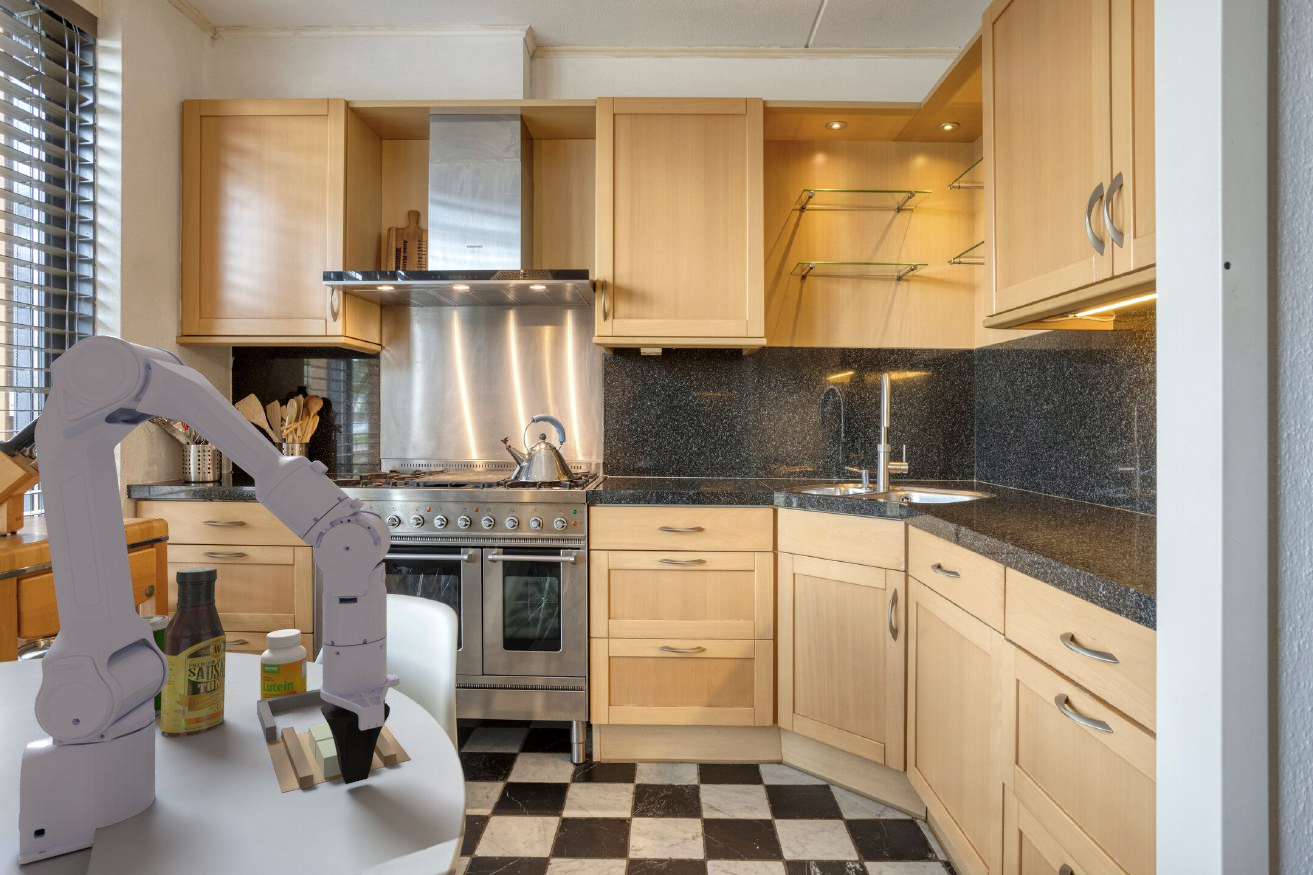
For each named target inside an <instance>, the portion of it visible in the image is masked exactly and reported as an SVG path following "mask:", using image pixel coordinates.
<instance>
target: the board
mask: <svg viewBox="0 0 1313 875" xmlns="http://www.w3.org/2000/svg"><path fill="white" fill-rule="evenodd" d="M280 733H281V736H280V737H279V738H276V739H274V740H269V741H266V740H265V743H266V747H267V750H268V753H269V755H270V759H271V762H272V765H273V769H274V771H275V774H276V777H277V781H278V784H279V787H280V791H281V793H282V794H284V793H288V792H292V791H296V790H299V789H300V790H301V789H304V788H307V787H311V786H315V785H319V784H323V783H327V782H331V781H335V780H338V779H343V778H342V775H341V774H339V775H335V776H332V777H328V778H323V775H322V773H321V771H320V769H319V767H318V764H317V762H316V760H315V758H314V755H313V753H312V751H311V749H310V747H309V731H307V732H302V733H297V732H296V730H295V728H294V726H288V727H285V728H281V729H280ZM408 761H412V758H411V757H410V756H409V754H408V753H407V752H406V751H405V749H404V748H403V747H402V745H401V744H400V742H399V741H398V740H397V739H396V737H395V736H394V735H393V733H392V732H391V731H390V730H389V728H388V726H386V724H385V723H384V726H383V727H382V729H381V731H380V734H379V737H378V740H377V743H376V747H375V751H374V755H373V760H372V766H371V769H370V771H373V770H378V769H381V768H384V767H389V766H392V765H396V764H401V763H404V762H408Z"/></svg>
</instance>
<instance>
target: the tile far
mask: <svg viewBox="0 0 1313 875" xmlns="http://www.w3.org/2000/svg"><path fill="white" fill-rule="evenodd" d="M308 732H309V747H310V749H311V751H312V753H313V755H314V758H315V760H316V742H320V741H324V740H328V739H333V736H332V732H331V730H330V727H329V725H328V723H327V722H322V723H319V724H314V725H310V726H309V725H308Z"/></svg>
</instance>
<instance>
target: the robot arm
mask: <svg viewBox="0 0 1313 875" xmlns="http://www.w3.org/2000/svg"><path fill="white" fill-rule="evenodd" d="M49 366H50V367H49V368H50V373H51V382H52V386H51V388H50V391H49V393H48V395H47V398H46V401H45V403H44V405H43V407H42V410H41V413H40V415H39V417H38V420H37V422H36V425H35V428H34V436H33V437H34V439H33V440H34V444H35V453H36V458H37V459H36V460H37V466H38V475H39V482H40V489H41V490H40V491H41V497H42V504H43V505H42V506H43V511H44V518H45V525H46V532H47V539H48V547H49V555H50V562H51V570H52V577H53V584H54V591H55V599H56V605H57V612H58V621H59V622H58V623H59V627H60V629H59V631H58V633H57V635H56V636H55V639H54V640H53V641H52V643H51V645H50V646H49V648H48V650H47V651H46V652H45V654H44V655H43V658H42V660H41V663H40V664H41V671H42V677H41V678H42V680H41V681H42V682H41V685H40V687H39V690H38V692H37V695H36V697H35V700H34V707H33V708H34V716H35V719H36V722H37V724H38V725H39V726H40V728H41V729H42V731H44V732H45V733H46V734H47V735H48V736H46V737H43V738H39V739H33V740H30V741H28V742H26V743H25V746H24V749H23V753H22V757H21V764H20V765H21V766H20V777H19V813H18V831H19V857H18V859H17V860H18V861H17V862H18V864H19V865H25V864H29V863H32V862H36V861H40V860H44V859H48V858H52V857H55V856H60V855H63V854H67V853H71V852H75V851H79V850H83V849H86V848H90V847H93V844H94V840H95V834H96V832H97V831H96V830H97V829H100V828H104V827H109V826H112V825H116V824H117V823H121V822H123V821H127V820H128V819H131V818H133V817H135V816H137V815H139V814H141V813H142V812H144V811H145V810H147V809H148V808H149V807H150V806H151V805H152V804H154V802H155V800H156V716H155V709H154V697H155V696H156V695H157V694H158V693H159V692H160V691H161V690H162V689H163V687H164V685H165V684H166V681H167V678H168V674H169V667H168V662H167V659H166V657H165V655H164V654H163V652H162V651H161V650H160V649H159V648H158V646H157V645H156V643H155V640H154V637H153V630H152V626H151V625H150V624H149V623H148V622H147V621H145V620H144V619H143V618H142V617H143V616H142V615H141V616H140V614H138V613H137V611H136V605H135V597H134V589H133V582H132V575H131V574H132V573H131V567H130V560H129V553H128V545H127V538H126V530H125V524H124V523H125V522H124V517H123V516H124V514H123V509H122V508H123V507H122V501H121V494H120V485H119V477H118V471H117V464H116V456H115V448H116V446H118V445H119V444H120V443H121V442H122V441H123V440H124V439H125V438H126V437H127V436H129V435H130V434H131V433H132V432H133V431H134V430H135V429H136V428H138V427H139V426H140V425H141V424H143V423H145V422H148V421H149V420H151V419H154V418H156V417H160V418H166V419H170V420H173V421H178V422H182V423H184V424H186V425H187V426H188V427H190V428H191V429H192V430H193V431H195V432H196V433H197V434H198V435H200V437H202V438H203V439H205V441H207V442H208V443H209V444H211V445H212V446H213V447H214V448H215V449H217V450H219V451H220V452H221V454H223V455H224V456H225V457H227V458H228V459H229V460H230V461H232V463H234V464H235V465H237V466H238V467H239V468H240V469H242V470H243V471H244V472H246V473H247V475H249V476H250V477H252V478H253V480H254V489H255V490H254V491H255V492H254V494H255V500H256V501H257V502H259V503H260V504H261V505H262V506H263V507H264V508H265V509H266V510H268V511H269V513H271V514H272V515H273V516H274V517H275V518H277V519H278V520H279V521H280V522H281V523H282V524H283V525H284V526H286V527H287V528H288V529H289V530H290V531H291V532H292V533H293V534H294V535H295V536H297V537H298V538H299V539H300V540H302V541H303V543H305V544H306V545H309V546H313V547H314V548H313V549H312V553H313V554H312V555H313V559H314V561H315V563H316V565H317V567H318V568H319V569H320V570H321V572H322V573H323V592H322V684H321V686H320V688H319V689H320V697H321V698H322V699H323V700H324V701H327V702H326V704H324V705H322V706H321V707H320V712H321V714H322V715H323V717H324V719H325V721H326V723H328V725H329V727H330V730H331V732H332V736H333V739H334V743H335V748H336V753H337V758H338V763H339V768H340V772H341V775H342V778H341V779H343V782H344V784H345V785H350V784H353V783H354V784H355V783H358V782H361V781H364V780H368V779H369V776H370V773H371V770H370V769H371V765H372V760H373V755H374V751H375V747H376V743H377V740H378V737H379V734H380V731H381V729H382V727H383V726H384V724H385V723H386V721H387V720H388V718H389V716H390V713H391V712H390V711H391V707H390V705H389V704H388V703H387V702H386V696H387V694H388V692H389V689H390V688H391V687H392V688H393V687H396V686H399V685H400V676H398V675H397V674H396V673H388V670H387V669H388V668H387V667H388V662H387V661H388V655H387V654H388V651H387V650H388V644H387V641H388V640H387V639H388V636H387V635H388V629H387V628H388V627H387V626H388V625H387V622H388V621H387V620H388V618H387V617H388V616H387V612H388V610H387V608H388V607H387V606H388V605H387V602H388V601H387V600H388V599H387V596H388V595H387V593H388V592H387V586H386V577H387V574H386V562H383V560H384V559H385V557H386V555H387V554H388V552H389V551H390V548H391V543H392V536H391V531H390V528H389V526H388V525H387V523H386V522H385V521H384V519H383V518H382V515H381V514H380V513H378V512H376V511H373V510H369V509H362V508H363V507H364V505H365V503H364V502H363V501H362V500H361V499H360V498H359V497H355V498H351V497H350V496H349V495H348V494H347V493H346V492H345V491H344V490H343V489H342V488H340V487H339V486H338V485H337V484H336V483H335V482H334V481H333V480H331V479H330V477H328V476H327V475H326V472H327V471H328V470H329V468H328V466H326V465H325V463H323V462H322V461H320V460H314V461H313V462H311V461H310V460H309V458H307V457H306V456H304V455H292V456H291V455H290V456H289V455H287V456H285V455H284V454H282V452H281V451H280V450H279V449H277V447H276V446H274V444H273V443H272V442H271V441H270V440H268V438H267V437H265V435H263V433H261V432H260V430H259V429H258V428H257V427H255V425H254V424H252V422H250V421H249V420H248V419H247V417H245V416H244V414H242V412H240V411H239V410H238V409H237V408H236V407H235V405H233V403H231V402H230V401H229V400H228V399H227V398H226V397H225V396H224V395H223V394H222V393H221V392H220V391H219V390H218V389H217V388H216V387H215V386H214V385H213V384H212V383H211V382H210V381H209V380H208V378H206V377H205V376H204V375H203V374H202V373H201V372H199V371H197V369H195V368H193V367H190V366H188V365H187V364H186V362H184V360H183V359H182V358H181V357H180V356H179V355H177V354H176V353H174V352H172V351H170V350H167V349H163V348H158V347H150V346H145V345H141V344H138V343H134V342H130V341H127V340H125V339H124V338H123V339H122V338H120V337H117V336H112V335H107V334H98V335H97V334H96V335H92V336H88V337H85V338H83V339H81V340H79V341H78V342H76V343H74V344H73V345H72V346H71V347H70V348H68V349H67V350H66V351H65V352H63V353H62V354H61V355H60V356H59V357H57V358H56V359H55V360H54V361H52V362H51V363H50V365H49ZM327 703H328V704H327Z"/></svg>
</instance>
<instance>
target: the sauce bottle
mask: <svg viewBox="0 0 1313 875" xmlns="http://www.w3.org/2000/svg"><path fill="white" fill-rule="evenodd" d="M175 576H176V577H175V581H176V584H177V598H176V599H177V600H176V601H177V602H176V612H175V613H174V615H172V617H171V619H170V620H168V621H169V624H168V625H167V627H166V630H165V634H164V651H163V654H164V655H165V657H166V659H167V662H168V667H169V674H168V678H167V681H166V684H165V685H164V687H163V689H162V696H161V714H160V726H159V728H160V729H161V732H162V733H161V735H163V736H166V737H170V738H178V737H179V738H180V737H191V736H195V735H196V736H197V735H199V734H201V733H206V732H208V731H212V730H213V729H216V728H217V727H218V726H220V725H221V724H222V723H223V722H224V719H225V693H226V692H225V688H226V687H225V686H226V685H225V684H226V683H225V682H226V681H225V680H226V646H227V644H226V642H227V634H226V633H225V631H224V628H223V624H222V622H221V618H220V615H219V613H218V609H217V607H216V599H215V592H216V591H215V590H216V588H215V587H216V582H217V579H218V569H217V567H216V568H215V567H213V566H209V567H208V566H205V567H189V568H183V569H178V570H176V575H175Z"/></svg>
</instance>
